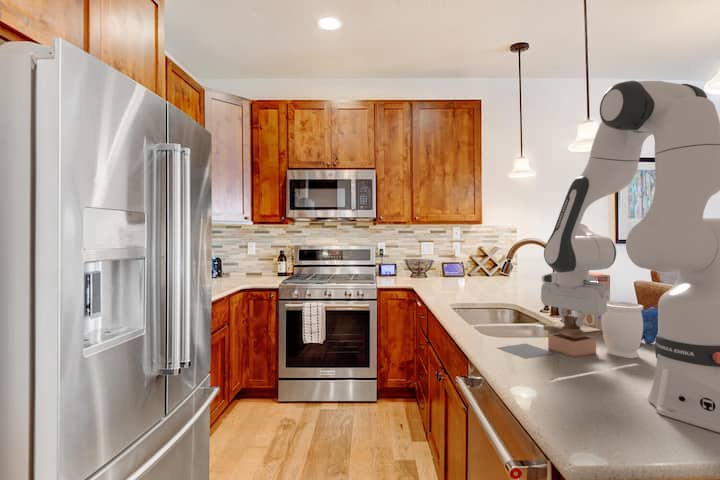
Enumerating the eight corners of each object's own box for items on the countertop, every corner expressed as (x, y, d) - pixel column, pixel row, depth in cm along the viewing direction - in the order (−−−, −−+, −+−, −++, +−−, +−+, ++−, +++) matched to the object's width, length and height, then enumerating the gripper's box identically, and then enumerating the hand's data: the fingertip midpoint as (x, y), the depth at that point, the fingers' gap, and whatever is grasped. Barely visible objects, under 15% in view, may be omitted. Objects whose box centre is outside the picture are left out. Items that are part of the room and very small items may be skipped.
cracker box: (610, 333, 146) (611, 274, 145) (593, 333, 146) (594, 275, 145) (589, 324, 160) (589, 271, 159) (573, 324, 160) (573, 271, 159)
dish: (596, 355, 120) (596, 338, 120) (573, 359, 117) (573, 341, 117) (569, 347, 129) (569, 331, 128) (548, 350, 125) (548, 334, 125)
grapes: (671, 343, 132) (672, 306, 132) (670, 348, 127) (670, 309, 126) (629, 338, 139) (629, 302, 139) (625, 342, 134) (625, 305, 134)
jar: (650, 361, 115) (650, 307, 114) (609, 359, 117) (609, 306, 116) (633, 350, 125) (633, 301, 125) (595, 348, 127) (596, 300, 127)
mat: (556, 355, 120) (556, 353, 120) (525, 360, 116) (525, 358, 116) (526, 345, 131) (526, 343, 131) (496, 349, 127) (496, 347, 127)
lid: (602, 334, 119) (602, 317, 119) (574, 337, 115) (574, 321, 115) (569, 326, 130) (569, 311, 130) (543, 329, 125) (543, 314, 125)
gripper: (612, 281, 114) (612, 331, 114) (552, 275, 133) (552, 317, 133) (596, 282, 111) (596, 333, 112) (537, 275, 130) (537, 319, 131)
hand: (571, 324), depth 122 cm, fingers closed on lid, 3 cm apart
